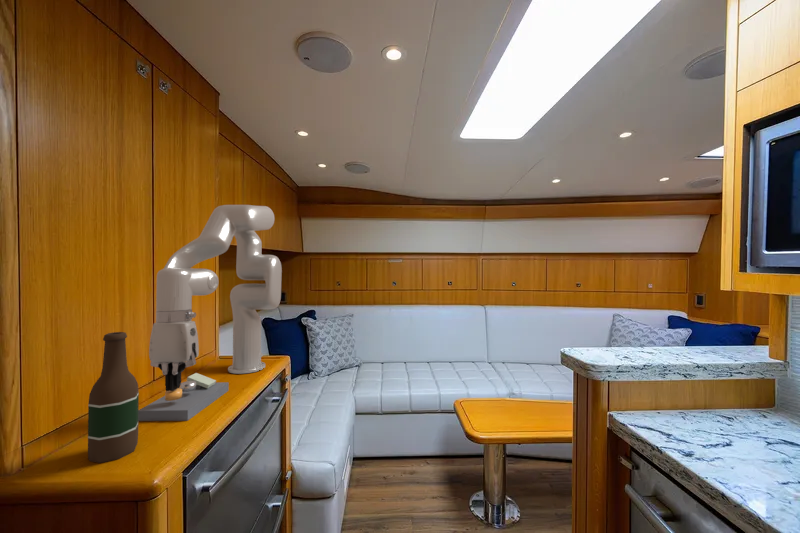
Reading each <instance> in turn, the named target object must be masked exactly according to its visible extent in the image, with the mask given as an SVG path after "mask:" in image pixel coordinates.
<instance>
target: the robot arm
mask: <svg viewBox="0 0 800 533" xmlns="http://www.w3.org/2000/svg"><path fill="white" fill-rule="evenodd" d="M274 224H275V214H274V212H273V210H272V209H271V208H270V207H269V206H266V205H254V204H253V205H251V204H223V205H218V206H217V207H215V208H214V209H213V211H212V213H211V215H210V216H209V218H208V220H207V222H206V224H205V226H204V227H203V229H202V231H201V233H200V235H199V236H198V237H197V238H195V239H193V240H192V241H190V242H189V243H187V244H185V245H184V246H182V247H181V248H179V249H178V250H177V251H175V252H174V253H173V254H172V255H171V256H170V257H169V258H168V260H167V262H166V264H165V266H164V268H162V269H160V270H158V272H157V273H156V293H155V294H156V295H155V296H156V298H155V299H156V300H155V301H156V303H155V304H156V306H155V307H156V308H155V322H154V323H153V324H152V329H151V334H150V338H149V339H150V340H149V346H148V347H149V348H148V349H149V350H148V356H149V357H148V358H149V360H150V367H154V368H159V369H160V370H161V373H162V375H164V386H165V392H166V391H169V390H170V391H174V390H176V389H177V388H180V385H181V383H182V373H183V372H184V370H185V369H187V368H188V367H192V366H194V365H196V364H197V361H196V358H198V356H199V351H200V349H199V347H200V346H199V333H198V329H197V325H196V321H194V320H193V319H194V318H196V316H197V313H196V312H195V311H194V312H193V309H192V308H193V304H192V303H193V302H192V300H193V296H207V295H208V296H209V295H210V294H212V293H214V292H215V291H216V290H217V288H218V287H219V277H218V274H216V272H214V271H213V270H212V269H208V268H194V266H196V265H197V264H199V263H201V262H204V261H206V260H208V259H209V260H210V259H212V258H215V257H217V256H221V255H222V254H224V253H226V252H227V251H228V250H229V248H230V246H231V243H232V241H233V239H234V237H235V240H236V260H235V261H236V262H235V263H236V265H235V268H236V269H235V270H236V276H237V277H238V278H239V279H240V280H243V281H265V283H239V284H237V285H234V287H232V289H231V290H230V294H229V300H230V306H231V310H232V364H231V365H230V366H228V368H227V372H228V373H231V374H236V375H237V374H239V375H240V374H241V375H243V374H250V373H256V372H259V370H260V371H262V370H264V369H265V368H266V363H265V362H263V361H262V357H263V356H264V354H263V352H262V320H261V317H260V315H259V314H258V312H257V310H264V311H265V310H266V311H267V310H275V309H277V308H278V307H279V306H280V302H281V299H282V273H283V270H282V269H283V268H282V262H281V261H280V259H279V257H278V256H276V255H274V254H262V248H263V247H262V246H263V242H262V239H261V238H260V236H259V235H258V234H257V232H256V231H267V230H270V229H271V228H272V227H273V226H274ZM263 368H264V369H263Z"/></svg>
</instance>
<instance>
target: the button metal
mask: <svg viewBox="0 0 800 533" xmlns="http://www.w3.org/2000/svg"><path fill="white" fill-rule="evenodd" d="M179 388H180V389H182V392H188V391H192V390H195V389H196V381H187V380H186V381H183V382H181V385H180V387H179Z"/></svg>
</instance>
